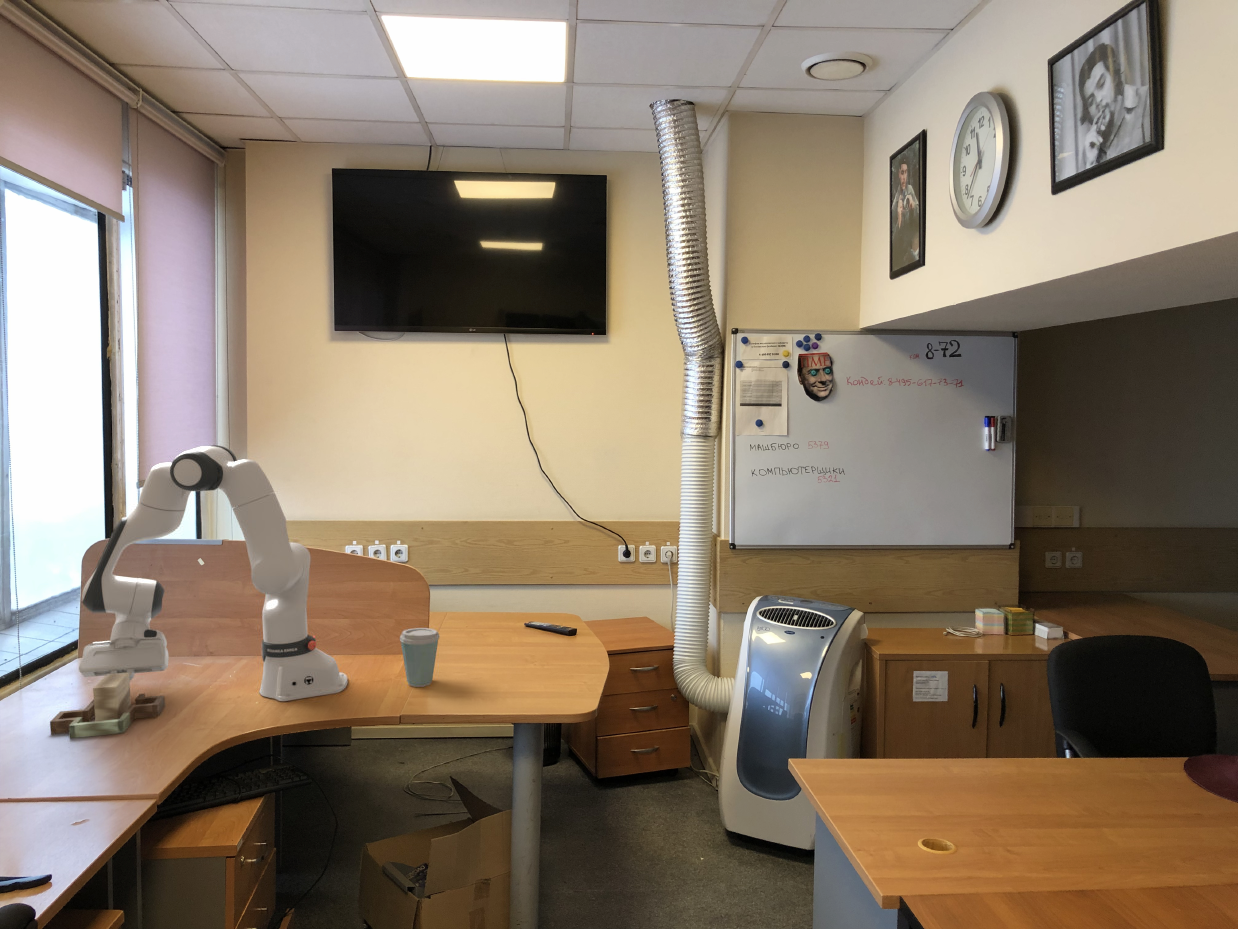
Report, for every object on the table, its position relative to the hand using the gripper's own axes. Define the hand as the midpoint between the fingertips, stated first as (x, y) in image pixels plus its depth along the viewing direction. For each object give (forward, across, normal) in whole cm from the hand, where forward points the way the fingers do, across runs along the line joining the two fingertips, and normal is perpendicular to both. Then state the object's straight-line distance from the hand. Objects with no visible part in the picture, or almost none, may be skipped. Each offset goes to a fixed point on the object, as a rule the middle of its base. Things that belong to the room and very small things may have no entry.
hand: (119, 688), depth 216 cm
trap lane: (+10, 0, -3) cm, 10 cm away
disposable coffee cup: (+6, +75, +2) cm, 75 cm away
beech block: (+7, 0, -1) cm, 7 cm away
